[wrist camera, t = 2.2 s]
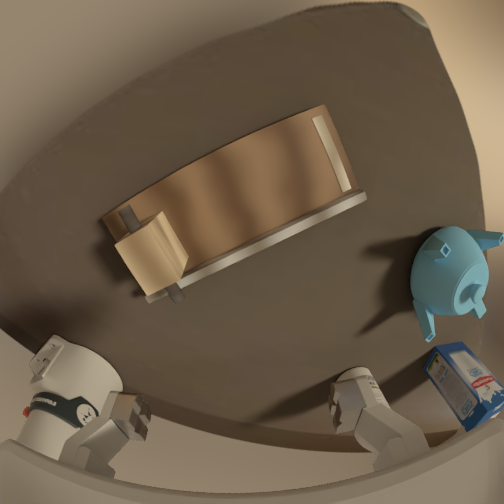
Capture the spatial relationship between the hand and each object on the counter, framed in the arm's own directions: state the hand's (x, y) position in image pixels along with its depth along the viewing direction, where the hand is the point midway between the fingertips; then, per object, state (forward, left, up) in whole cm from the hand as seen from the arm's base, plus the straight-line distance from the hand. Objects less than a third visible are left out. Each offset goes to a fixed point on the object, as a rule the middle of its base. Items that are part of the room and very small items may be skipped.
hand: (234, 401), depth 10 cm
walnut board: (+2, +3, -24) cm, 24 cm away
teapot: (+27, -19, -24) cm, 41 cm away
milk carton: (+28, -44, -24) cm, 57 cm away
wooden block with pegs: (-7, +3, -22) cm, 23 cm away
